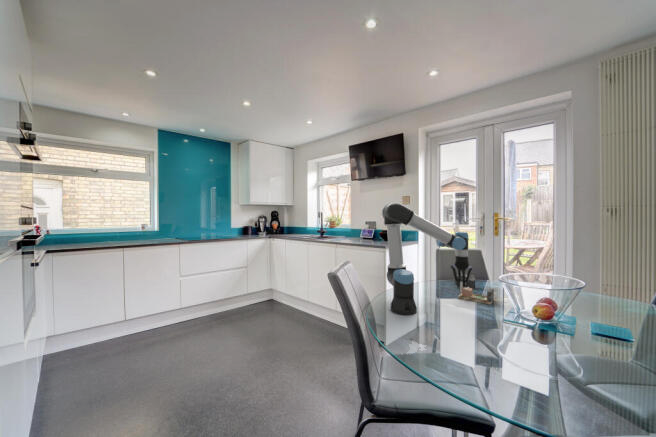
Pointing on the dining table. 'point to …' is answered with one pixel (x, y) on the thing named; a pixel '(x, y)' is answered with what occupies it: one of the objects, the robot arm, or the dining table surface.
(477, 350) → the dining table surface
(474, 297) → the scale board
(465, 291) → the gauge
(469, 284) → the camera
